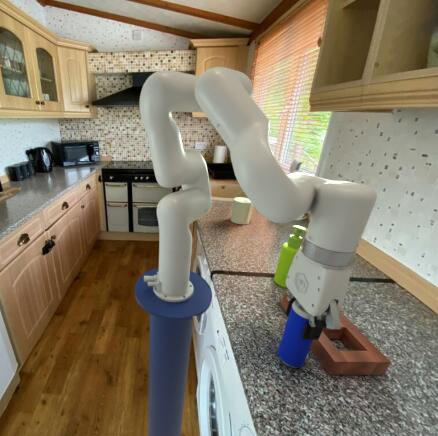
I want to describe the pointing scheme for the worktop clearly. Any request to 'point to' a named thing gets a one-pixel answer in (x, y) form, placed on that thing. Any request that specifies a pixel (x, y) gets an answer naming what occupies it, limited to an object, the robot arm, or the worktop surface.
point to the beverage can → (295, 337)
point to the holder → (346, 360)
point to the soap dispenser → (288, 255)
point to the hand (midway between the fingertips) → (301, 325)
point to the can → (241, 210)
